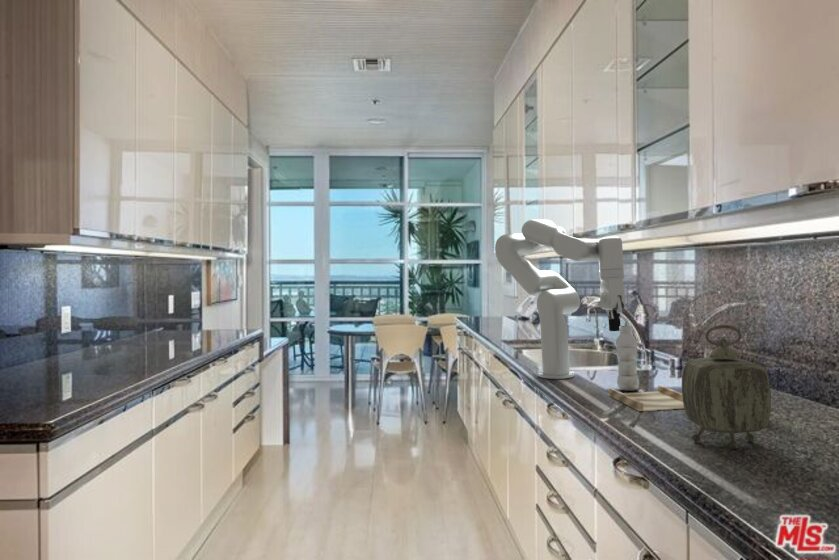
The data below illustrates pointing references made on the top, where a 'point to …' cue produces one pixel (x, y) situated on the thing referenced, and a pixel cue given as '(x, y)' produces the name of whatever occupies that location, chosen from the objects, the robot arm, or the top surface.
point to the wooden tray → (650, 399)
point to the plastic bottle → (627, 360)
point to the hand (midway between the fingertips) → (615, 330)
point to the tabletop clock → (726, 392)
